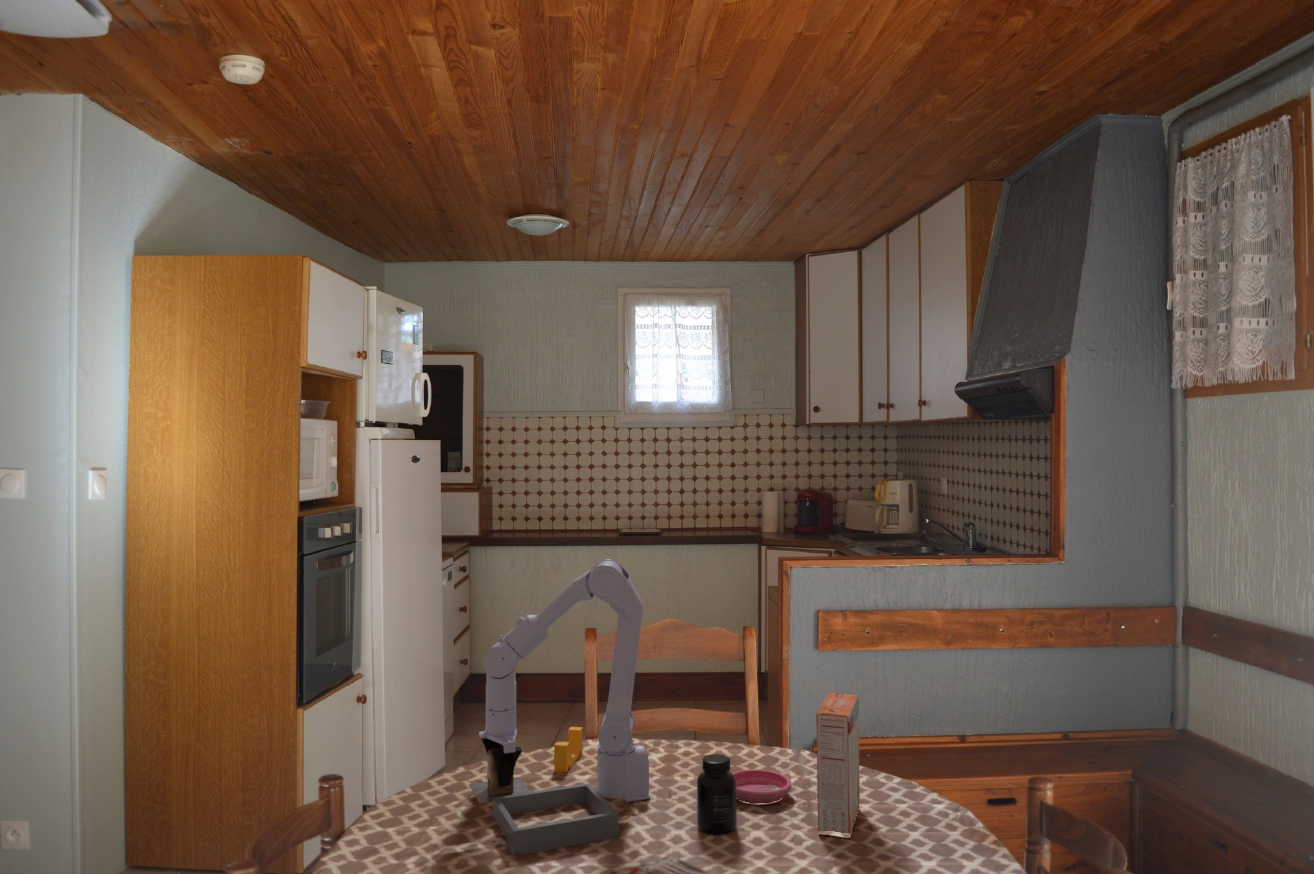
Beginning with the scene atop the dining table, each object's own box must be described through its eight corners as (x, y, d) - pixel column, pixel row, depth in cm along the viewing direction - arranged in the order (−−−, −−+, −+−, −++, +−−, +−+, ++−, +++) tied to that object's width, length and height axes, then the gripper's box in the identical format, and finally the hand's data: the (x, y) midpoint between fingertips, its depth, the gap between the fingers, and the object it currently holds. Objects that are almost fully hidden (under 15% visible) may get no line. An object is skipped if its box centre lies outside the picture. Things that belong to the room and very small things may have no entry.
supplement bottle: (740, 823, 155) (740, 754, 155) (731, 839, 149) (731, 767, 149) (703, 817, 157) (703, 749, 158) (691, 833, 151) (692, 762, 151)
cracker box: (827, 804, 163) (827, 690, 164) (860, 809, 161) (860, 694, 162) (814, 835, 150) (814, 711, 151) (850, 840, 148) (850, 715, 149)
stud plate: (519, 782, 174) (519, 767, 174) (533, 800, 165) (533, 785, 165) (468, 789, 170) (468, 774, 170) (479, 808, 161) (479, 793, 161)
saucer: (728, 782, 175) (728, 766, 175) (791, 786, 173) (791, 770, 173) (722, 807, 163) (722, 789, 163) (791, 811, 161) (791, 794, 161)
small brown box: (508, 784, 170) (508, 747, 170) (513, 791, 166) (513, 754, 166) (486, 787, 168) (486, 750, 168) (491, 795, 165) (491, 757, 165)
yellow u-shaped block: (562, 756, 189) (562, 726, 189) (582, 757, 189) (582, 727, 189) (545, 776, 178) (546, 744, 178) (566, 778, 177) (566, 745, 177)
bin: (589, 804, 163) (589, 783, 163) (618, 837, 149) (618, 813, 149) (492, 820, 156) (492, 797, 156) (513, 856, 142) (513, 831, 142)
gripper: (472, 699, 173) (471, 769, 172) (488, 720, 159) (487, 796, 159) (507, 695, 176) (507, 764, 175) (526, 715, 162) (526, 790, 162)
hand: (500, 779), depth 167 cm, fingers open, 6 cm apart
